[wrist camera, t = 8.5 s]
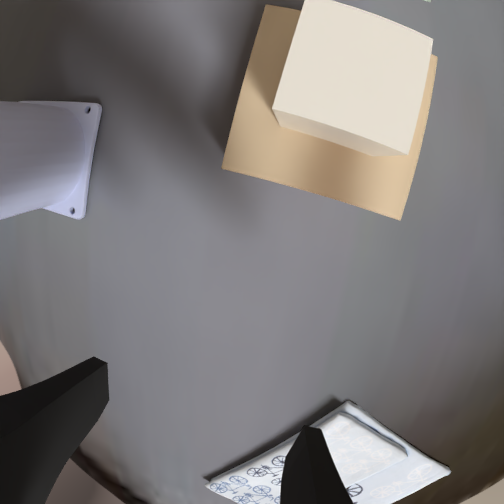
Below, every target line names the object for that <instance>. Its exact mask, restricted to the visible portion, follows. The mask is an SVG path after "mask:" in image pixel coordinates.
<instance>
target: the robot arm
mask: <svg viewBox="0 0 504 504" xmlns="http://www.w3.org/2000/svg"><path fill="white" fill-rule="evenodd" d="M89 108H91V110H90V112H89V113H88V109H89ZM101 113H102V106H101V105H100V104H98V103H87V102H67V101H19V102H9V101H0V220H1V219H4V218H8V217H11V216H14V215H18V214H21V213H25V212H28V211H32V210H35V209H39V208H43V209H47V210H50V211H53V212H56V213H59V214H62V215H66V216H69V217H72V218H75V219H82V218H83V217H84V216H85V213H86V204H87V195H88V187H89V179H90V172H91V166H92V159H93V153H94V148H95V142H96V137H97V132H98V127H99V122H100V117H101ZM73 208H74V209H75V213H74V212H73ZM108 401H109V389H108V368H107V363H106V362H104V361H102V360H100V359H98V358H96V357H92V358H90V359H88V360H85V361H83V362H81V363H79V364H77V365H75V366H74V367H72V368H70V369H68V370H65V371H63V372H61V373H59V374H57V375H55V376H53V377H51V378H49V379H46V380H44V381H42V382H39V383H37V384H34V385H32V386H29V387H27V388H24V389H22V390H19V391H16V392H12V393H9V394H5V395H2V396H0V504H45V502H46V500H47V497H48V496H49V494H50V491H51V489H52V487H53V485H54V483H55V482H56V479H57V478H58V476H59V474H60V472H61V471H62V469H63V467H64V465H65V464H66V462H67V461H68V459H69V458H70V457H71V455H72V454H73V453H74V451H75V450H76V449H77V447H78V446H79V445H80V443H81V442H82V441H83V439H84V438H85V437H86V435H87V434H88V433H89V432H90V430H91V429H92V428H93V426H94V425H95V423H96V422H97V421H98V419H99V417H100V416H101V414H102V412H103V410H104V409H105V407H106V405H107V403H108ZM280 504H354V503H353V501H352V499H351V498H350V496H349V494H348V492H347V490H346V488H345V486H344V484H343V482H342V480H341V477H340V475H339V473H338V471H337V469H336V466H335V464H334V461H333V459H332V456H331V454H330V451H329V449H328V446H327V443H326V440H325V438H324V435H323V432H322V430H321V429H320V428H315V427H309V426H303V428H302V430H301V432H300V433H299V435H298V437H297V439H296V440H295V442H294V444H293V445H292V447H291V449H290V450H289V452H288V454H287V455H286V457H285V462H284V467H283V473H282V479H281V492H280Z"/></svg>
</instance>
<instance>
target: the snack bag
mask: <svg viewBox="0 0 504 504" xmlns="http://www.w3.org/2000/svg"><path fill="white" fill-rule="evenodd" d="M309 427H315V428H320V429H321V430H322V432H323V435H324V438H325V440H326V443H327V446H328V449H329V451H330V454H331V456H332V459H333V461H334V464H335V466H336V469H337V471H338V473H339V475H340V477H341V480H342V482H343V484H344V486H345V488H347V487H349V486H350V487H349V488H348V489H347V492H348V494H349V496H350V498H351V499H352V501H353V503H354V504H391V503H393V502H395V501H397V500H399V499H401V498H404V497H406V496H408V495H410V494H412V493H414V492H416V491H418V490H419V489H421V488H423V487H425V486H427V485H428V484H430V483H432V482H434V481H436V480H438V479H440V478H442V477H444V476H447V475H449V474H450V472H451V470H449V467H447V466H445V465H443V464H441V463H438V462H437V461H435V460H433V459H431V458H429V457H428V456H426V455H425V454H423V453H422V452H420V451H419V450H417V449H416V448H415V447H413V446H412V445H410V444H409V443H407V442H406V441H405V440H403V439H402V438H401V437H399V436H398V435H396V434H395V433H394V432H392V431H391V430H389V429H388V428H387V427H385V426H384V425H382V424H381V423H380V422H378V421H377V420H376V419H375V418H373V417H372V416H371V415H370V414H368V413H367V412H366V411H364V410H363V409H362V408H361V407H360V406H358V405H355V404H353V403H352V402H350V401H346V402H345V403H343V404H342V405H341V406H339V407H338V408H336V409H335V410H333V411H332V412H330V413H329V414H327V415H326V416H324V417H323V418H321V419H319V420H318V421H316V422H315V423H313V424H312V425H310V426H309ZM300 432H301V431H300ZM300 432H299V433H300ZM299 433H297V434H295V435H294V436H292V437H291V438H289V439H287V440H286V441H284V442H282V443H280V444H279V445H277V446H275V447H274V448H272V449H270V450H268V451H266V452H264V453H263V454H261V455H259V456H257V457H255V458H253V459H251V460H249V461H247V462H245V463H243V464H241V465H239V466H237V467H235V468H233V469H230V470H228V471H227V472H224V473H222V474H221V475H218V476H217V477H215V478H212V479H210V480H211V482H209V483H206V484H205V486H206V487H207V488H208V489H210V490H212V491H214V492H216V493H217V494H220V495H222V496H224V497H226V498H229V499H231V500H233V501H235V502H237V503H238V504H280V492H281V479H282V473H283V467H284V462H285V457H286V455H287V454H288V452H289V450H290V449H291V447H292V445H293V444H294V442H295V440H296V439H297V437H298V435H299Z"/></svg>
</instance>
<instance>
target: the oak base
mask: <svg viewBox="0 0 504 504" xmlns="http://www.w3.org/2000/svg"><path fill="white" fill-rule="evenodd" d="M300 14H301V11H300V10H295V9H290V8H285V7H279V6H273V5H267V4H266V6H265V9H264V12H263V16H262V19H261V22H260V26H259V29H258V32H257V35H256V39H255V42H254V46H253V49H252V53H251V56H250V60H249V63H248V67H247V70H246V74H245V77H244V81H243V85H242V88H241V92H240V96H239V99H238V103H237V107H236V111H235V115H234V119H233V122H232V126H231V130H230V134H229V138H228V142H227V146H226V150H225V155H224V159H223V163H222V167H221V169H225V170H229V171H233V172H237V173H241V174H245V175H249V176H253V177H257V178H261V179H265V180H269V181H272V182H276V183H280V184H284V185H287V186H291V187H294V188H298V189H301V190H305V191H308V192H312V193H315V194H319V195H322V196H325V197H329V198H332V199H335V200H339V201H342V202H345V203H348V204H352V205H355V206H358V207H361V208H364V209H367V210H370V211H373V212H376V213H379V214H382V215H385V216H388V217H391V218H394V219H397V220H401V217H402V214H403V210H404V207H405V204H406V201H407V197H408V194H409V190H410V187H411V183H412V180H413V176H414V172H415V169H416V165H417V161H418V157H419V153H420V149H421V145H422V140H423V136H424V132H425V127H426V122H427V117H428V112H429V107H430V102H431V97H432V91H433V85H434V79H435V72H436V65H437V58H438V57H436V56H434V55H432V54H431V56H430V62H429V68H428V73H427V78H426V83H425V88H424V93H423V98H422V102H421V107H420V111H419V115H418V120H417V124H416V128H415V132H414V135H413V139H412V143H411V147H410V150H409V154H408V155H394V156H370V155H367V154H364V153H362V152H359V151H356V150H353V149H351V148H348V147H345V146H342V145H339V144H336V143H333V142H330V141H327V140H324V139H321V138H318V137H314V136H311V135H308V134H305V133H301V132H298V131H295V130H291V129H288V128H284V127H281V126H280V125H279V122H278V120H277V118H276V116H275V114H274V112H273V110H272V107H273V103H274V100H275V97H276V93H277V90H278V87H279V83H280V80H281V76H282V73H283V70H284V66H285V63H286V60H287V56H288V53H289V50H290V47H291V43H292V40H293V37H294V33H295V30H296V27H297V24H298V20H299V17H300Z"/></svg>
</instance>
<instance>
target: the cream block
mask: <svg viewBox="0 0 504 504" xmlns="http://www.w3.org/2000/svg"><path fill="white" fill-rule="evenodd" d="M432 44H433V39H432V38H430V37H428V36H426V35H423V34H421V33H419V32H417V31H415V30H413V29H410V28H408V27H406V26H403V25H401V24H399V23H396V22H394V21H391V20H389V19H386V18H384V17H381V16H378V15H376V14H373V13H370V12H367V11H364V10H361V9H358V8H355V7H352V6H349V5H346V4H342V3H339V2H335V1H332V0H305V1H304V4H303V8H302V11H301V14H300V17H299V20H298V24H297V27H296V30H295V33H294V37H293V40H292V43H291V47H290V50H289V53H288V56H287V60H286V63H285V66H284V70H283V73H282V76H281V80H280V83H279V87H278V90H277V93H276V97H275V100H274V103H273V107H272V110H273V112H274V114H275V116H276V118H277V120H278V122H279V125H280V126H281V127H284V128H288V129H291V130H295V131H298V132H301V133H305V134H308V135H311V136H314V137H318V138H321V139H324V140H327V141H330V142H333V143H336V144H339V145H342V146H345V147H348V148H351V149H353V150H356V151H359V152H362V153H364V154H367V155H370V156H394V155H408V154H409V150H410V147H411V143H412V139H413V135H414V132H415V128H416V124H417V120H418V115H419V111H420V107H421V102H422V98H423V93H424V88H425V83H426V78H427V73H428V68H429V62H430V56H431V50H432Z"/></svg>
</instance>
